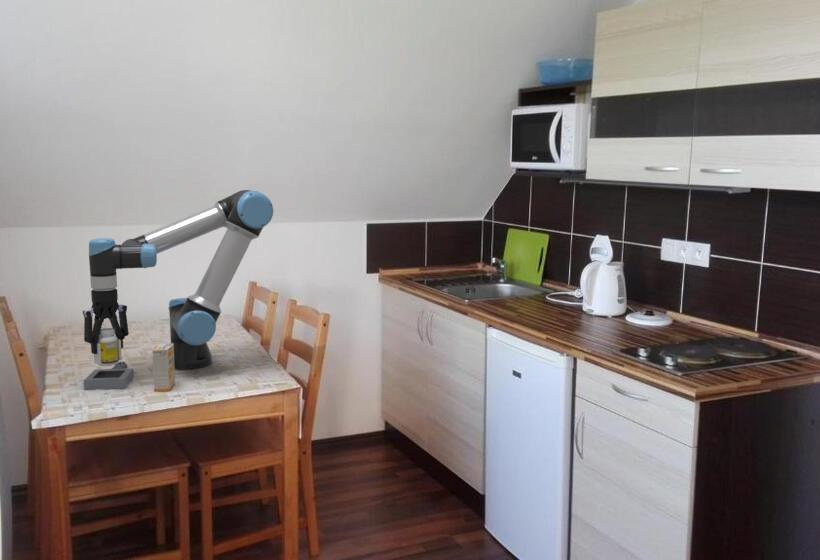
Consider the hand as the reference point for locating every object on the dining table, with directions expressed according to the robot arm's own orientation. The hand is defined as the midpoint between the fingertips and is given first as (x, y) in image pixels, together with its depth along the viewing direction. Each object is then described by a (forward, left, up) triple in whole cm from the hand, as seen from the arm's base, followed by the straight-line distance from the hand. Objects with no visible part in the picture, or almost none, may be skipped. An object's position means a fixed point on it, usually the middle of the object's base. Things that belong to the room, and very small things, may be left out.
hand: (108, 361), depth 234 cm
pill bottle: (0, 0, -1) cm, 1 cm away
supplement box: (-18, +6, -8) cm, 20 cm away
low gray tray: (0, -5, -8) cm, 9 cm away
